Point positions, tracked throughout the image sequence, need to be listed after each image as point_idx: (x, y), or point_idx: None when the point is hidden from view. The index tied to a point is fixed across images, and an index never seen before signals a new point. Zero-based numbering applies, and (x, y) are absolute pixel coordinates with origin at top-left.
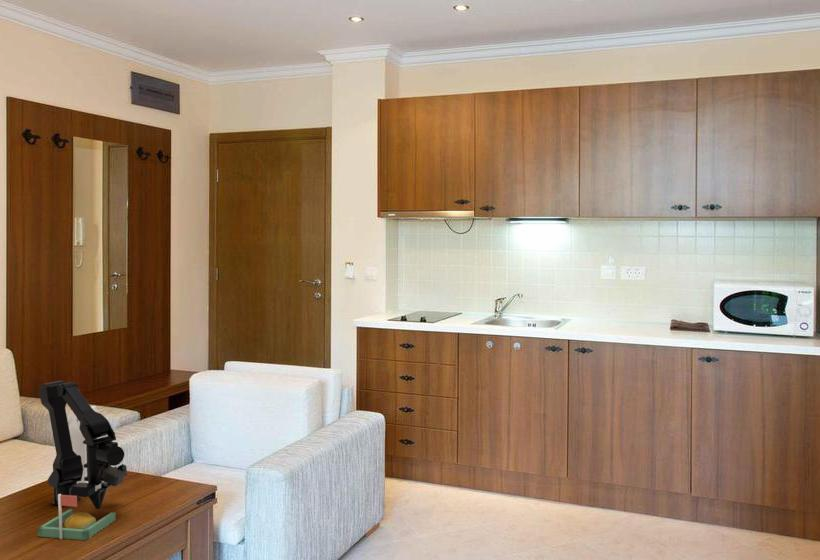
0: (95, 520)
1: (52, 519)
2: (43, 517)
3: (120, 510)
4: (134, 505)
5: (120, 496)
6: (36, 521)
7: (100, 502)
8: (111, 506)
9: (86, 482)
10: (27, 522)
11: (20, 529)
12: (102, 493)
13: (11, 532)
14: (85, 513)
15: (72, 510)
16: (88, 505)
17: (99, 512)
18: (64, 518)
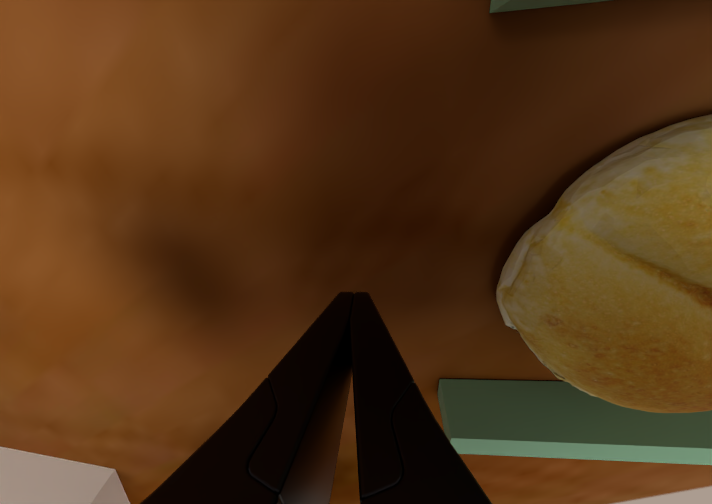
0: (698, 140)
1: (667, 461)
2: None
3: (200, 126)
4: (6, 51)
5: (25, 311)
6: (502, 471)
7: (352, 336)
8: (182, 268)
9: (85, 498)
10: (514, 487)
11: (604, 481)
12: (291, 472)
13: (638, 490)
14: (644, 325)
15: (458, 432)
16: (249, 391)
17: (318, 283)
18: (549, 410)
